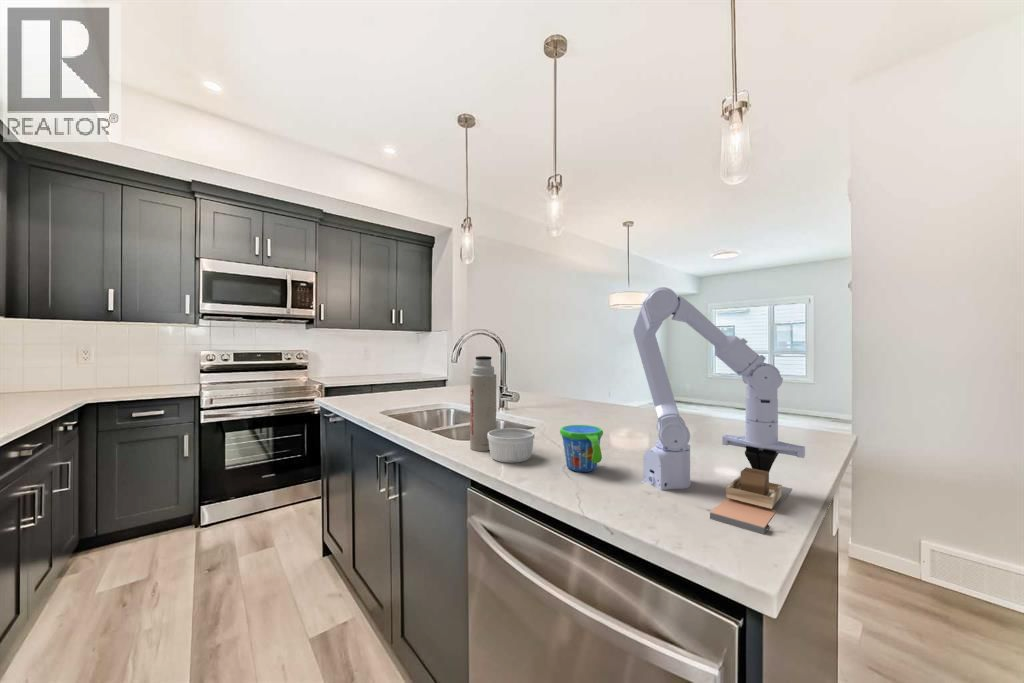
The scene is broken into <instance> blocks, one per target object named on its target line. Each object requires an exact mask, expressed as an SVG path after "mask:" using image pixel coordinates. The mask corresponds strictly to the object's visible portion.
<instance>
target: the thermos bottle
mask: <svg viewBox="0 0 1024 683" xmlns="http://www.w3.org/2000/svg"><path fill="white" fill-rule="evenodd" d="M491 360H492V356H486V355H481V356H480V355H479V356H478V355H477V356H475V365H474V366H473V367H472V369H471V371H472V374H470V376H469V379H470V380H469V381H470V382H469V383H470V384H469V385H470V386H469V389H470V390H469V395H470V396H469V399H470V400H469V405H470V408H469V410H470V411H469V412H470V414H469V415H470V417H469V419H470V420H469V421H470V422H469V426H470V428H469V431H470V432H469V433H470V435H469V442H470V443H469V446H470V448H469V449H470V450H472V449H473V450H472V451H475V450H477V451H476V452H488V450H490V449H489V440H488V438H487V436H488V432H489V431H492V430H495V429H497V374H496V373H495V367H494V366H493V365H492V361H491Z"/></svg>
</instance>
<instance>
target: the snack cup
mask: <svg viewBox="0 0 1024 683" xmlns="http://www.w3.org/2000/svg"><path fill="white" fill-rule="evenodd" d="M559 433H560V435H561V437H562V444H563V451H564V456H565V463H566V468H568V469H569V470H571V471H573V472H579V473H580V472H581V473H585V472H592V471H594V470H596V469H597V466H598V464H599V463H600V462H601V461H602V459H603V457H602V456H603V455H602V450H601V446H600V445H601V438H602V437H603V435H604V430H603V429H602V428H601V427H598V426H595V425H594V426H593V425H588V424H569V425H565V426H562V427H561V428H560V430H559Z"/></svg>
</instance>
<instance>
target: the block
mask: <svg viewBox="0 0 1024 683" xmlns="http://www.w3.org/2000/svg"><path fill="white" fill-rule="evenodd" d="M740 476H741V490H743V491H747V492H751V493H756V494H760V495H764V496H766V495H767V494H768V492H769V483H770V471H769V472H768V471H763V470H758V469H753V468H752V467H747V466H746V467H744V469H743V470H741V471H740Z"/></svg>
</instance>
